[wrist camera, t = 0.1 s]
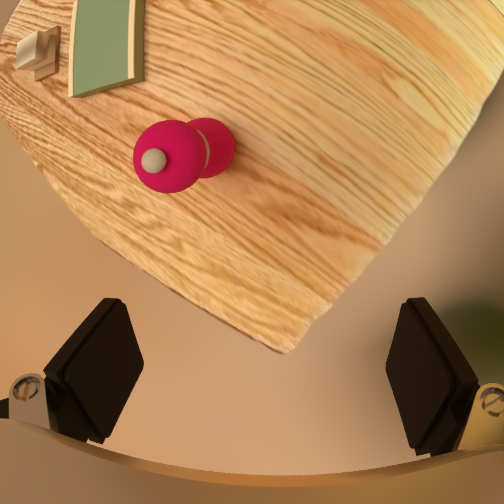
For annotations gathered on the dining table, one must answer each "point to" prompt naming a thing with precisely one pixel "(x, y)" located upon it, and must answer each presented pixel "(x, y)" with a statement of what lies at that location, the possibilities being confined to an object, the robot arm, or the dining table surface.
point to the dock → (105, 45)
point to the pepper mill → (182, 153)
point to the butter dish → (39, 53)
